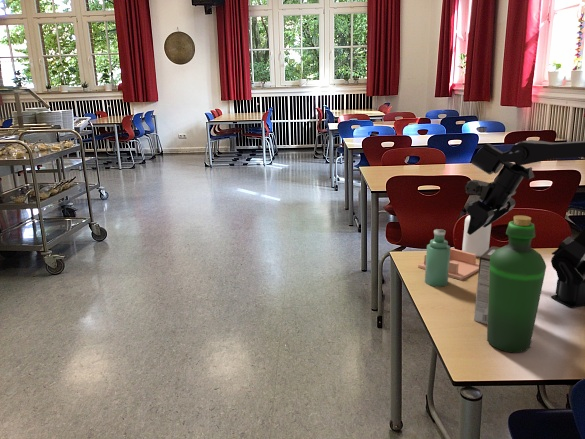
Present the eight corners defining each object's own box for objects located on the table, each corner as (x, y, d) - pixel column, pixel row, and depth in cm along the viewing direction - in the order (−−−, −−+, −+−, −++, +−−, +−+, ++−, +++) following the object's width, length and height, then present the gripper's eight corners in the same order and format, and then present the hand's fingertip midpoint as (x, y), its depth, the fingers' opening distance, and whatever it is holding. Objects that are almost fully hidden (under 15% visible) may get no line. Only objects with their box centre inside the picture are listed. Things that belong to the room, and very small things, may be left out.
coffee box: (485, 306, 122) (492, 245, 117) (513, 314, 118) (520, 250, 113) (472, 320, 115) (478, 255, 110) (500, 328, 111) (508, 262, 107)
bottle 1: (452, 285, 135) (456, 233, 131) (432, 288, 133) (436, 235, 129) (439, 276, 140) (443, 226, 136) (420, 279, 139) (423, 228, 135)
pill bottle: (492, 257, 155) (496, 211, 151) (466, 257, 155) (470, 211, 151) (483, 248, 163) (487, 205, 158) (458, 249, 163) (462, 205, 159)
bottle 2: (524, 332, 109) (540, 210, 102) (543, 358, 99) (562, 225, 91) (475, 330, 110) (487, 210, 103) (489, 356, 100) (502, 224, 93)
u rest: (484, 267, 147) (486, 255, 146) (461, 280, 138) (462, 267, 137) (442, 255, 157) (443, 244, 156) (418, 267, 148) (418, 255, 147)
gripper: (494, 163, 139) (467, 207, 148) (463, 173, 127) (436, 220, 135) (528, 184, 134) (499, 229, 142) (500, 196, 121) (470, 244, 130)
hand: (476, 230), depth 138 cm, fingers open, 9 cm apart
